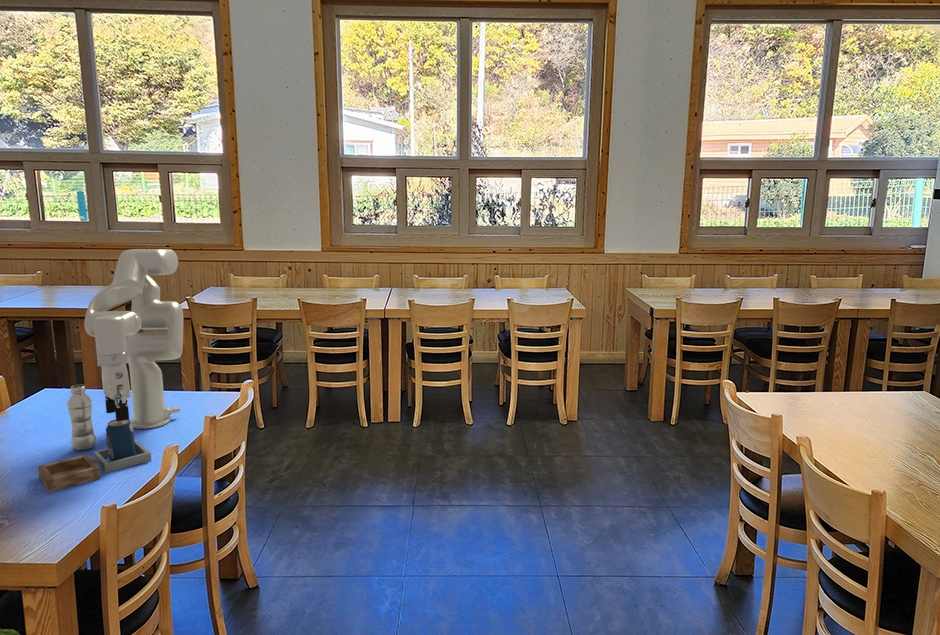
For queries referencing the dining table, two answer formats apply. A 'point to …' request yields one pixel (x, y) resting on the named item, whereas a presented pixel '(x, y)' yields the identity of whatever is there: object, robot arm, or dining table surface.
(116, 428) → the soda can
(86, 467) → the walnut holder
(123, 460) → the grey square frame
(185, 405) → the dining table surface
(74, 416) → the pale grey bottle
